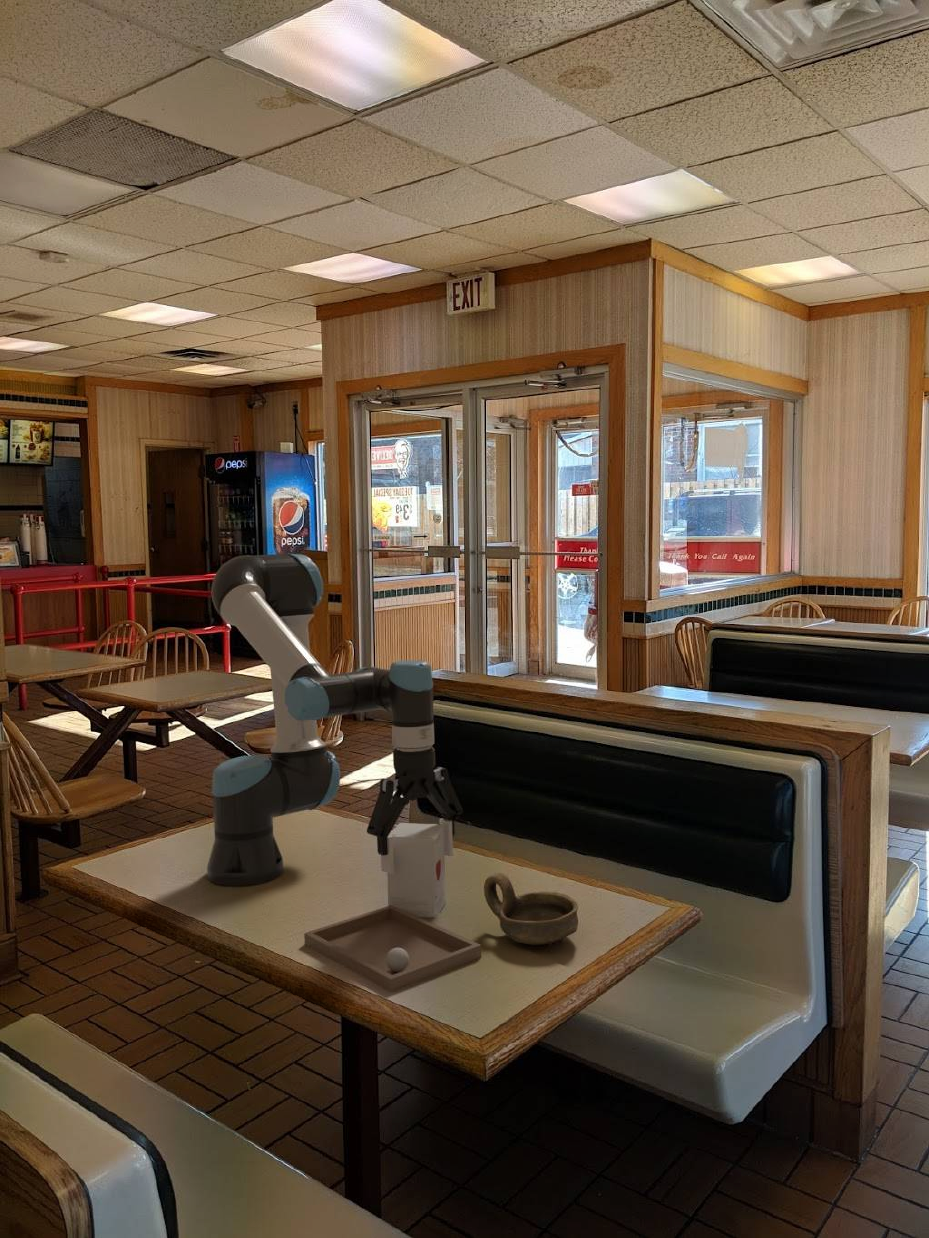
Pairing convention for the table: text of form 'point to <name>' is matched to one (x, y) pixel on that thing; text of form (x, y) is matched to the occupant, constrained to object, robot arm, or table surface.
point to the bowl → (531, 912)
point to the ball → (397, 959)
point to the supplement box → (418, 869)
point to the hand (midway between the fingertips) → (417, 863)
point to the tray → (392, 946)
